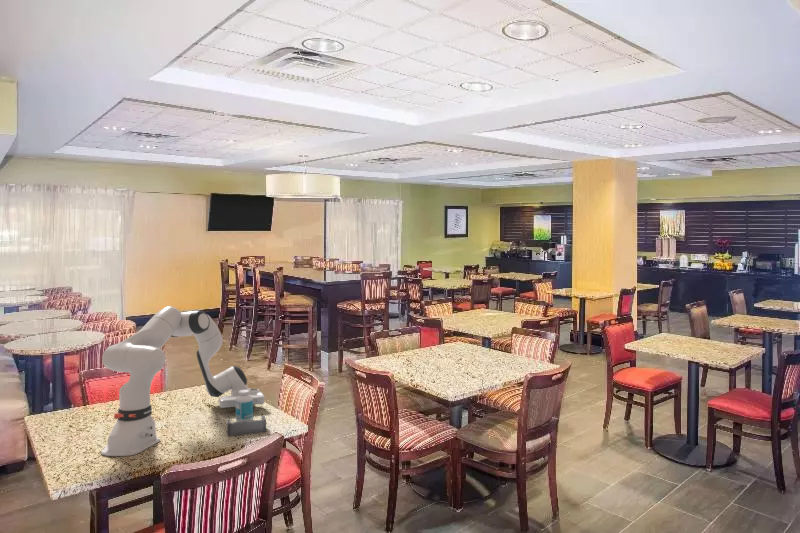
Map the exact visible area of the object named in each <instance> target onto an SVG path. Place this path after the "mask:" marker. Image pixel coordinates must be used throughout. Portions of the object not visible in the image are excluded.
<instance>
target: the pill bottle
mask: <svg viewBox="0 0 800 533" xmlns="http://www.w3.org/2000/svg"><path fill="white" fill-rule="evenodd" d="M238 394H239V396H237V397H236V399H235V404H236V407H235V421H236V422H246V421H254V405H253V398H252V396H251V395H249V390H240V391H239V392H238Z"/></svg>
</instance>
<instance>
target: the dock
mask: <svg viewBox="0 0 800 533" xmlns="http://www.w3.org/2000/svg"><path fill="white" fill-rule="evenodd" d="M226 430H227V431H226V432H227V437H233V436H241V435H242V436H243V434H244V435H250V433H253V434H261V433H260V432H262V433H267V419H266V415H261V419H259V420H258V419H256V420H252V421H246V422H237V421H236V422H231V418H227V419H226Z"/></svg>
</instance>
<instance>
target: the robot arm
mask: <svg viewBox="0 0 800 533" xmlns="http://www.w3.org/2000/svg"><path fill="white" fill-rule="evenodd" d="M189 336H194V338H195V340H196V342H197V343H198V350H197V351H196V359H197V361H198V365H199V368H200V371H201V374H202V377H203V379H204V382H205V389H206V392H207V394H208V395H209V396H210V397H213V398H219V399H218V402H219V408H222V409H224V408H232V407H233V408H236V404H235V399H236V397H237V396H239V394H238V392H239V391H240V390H249V395H251V396H252V398H253V406H255V405H256V406H257V405H264V404H265V394H264V393H263V392H261V390H260V389H259V388H250V387H248V378H247V377H246V375H245V373H244V371H243V369H241V367H239V366H236V365H233V366H230V367H229V368H226V369H224V370H223V371H221V372H219V373H217V374H216V375H212V372H211V369H210V364H209V363H210V361H211V359H212V358H213V356H215V354H216V353H218V351H220V349H221V348H222V345H223V341H224V338H223V335H222V332H221V331H220V329H219V327H218V326H217V324H216V323H215V321H214V320H213V318H212V317H211V316H210V315H209V314H207V313H206V312H205V311H204V310H197V309H196V310H189V311H180V310H179V309H178V308H177V307H174V306H171V305H170V306H169V305H168V306H165V307H163V308H161V309H160V310H158V311H157V312H156V313H155V314H154V315H153V316H152V317H151V318H150V319H149V320H148V321H147V322H146V324H144V326H142V328H140V329H139V330H138V331H137V332H135V333H134V334H132V335H131V336H129V337H127V338H125V339H124V340H122V341H120V342H118V343H115V344H113V345H109V346H108V347H106V348H105V350H104V352H103V353H102V360H101V361H102V364H103V366H104V367H105V368H106V369H108V370H111V371H114V372H116V373H117V372H119V373H129V380H128V381H127V382H125V383H124V384H123V385H121V387H120V388H119V391H118V392H119V394H118V396H119V401H118V402H119V407H118V409H117V410H118V411H117V412H115V413H114V415H113V418H114V419H116V422H115V424H114V425H113V427H112V429H111V431H110V433H109V435H108V438H107V444H106V446H105V447H104V448H103V449H102V450H100V455H102V456H106V457H107V456H108V457H126V456H127V457H128V456H133V455H138V454H139V453H141V452H143V451H145V450H146V449H149V448H150V447H152V446H153V445H155V444H157V443H160V441H161V440H160V438H159V437H158V436H157V427H156V421H155V419H154V418H153V416H152V411H153V409H152V403H151V387H152V382H153V380H154V377H155V376H156V374H157V373H159V372H160V371H161V370H162V369H163V368H164V365H165V364H166V355H165V352H164V350H163V349H161V348H163V347H164V345H166V343H167V342H168V341H169V339H170V338H178V337H189ZM229 391H230V395H224V394H225V393H227V392H229ZM222 395H224V396H222Z"/></svg>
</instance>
